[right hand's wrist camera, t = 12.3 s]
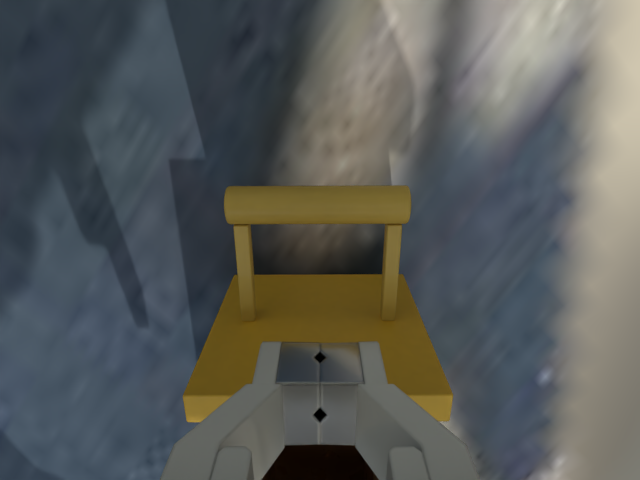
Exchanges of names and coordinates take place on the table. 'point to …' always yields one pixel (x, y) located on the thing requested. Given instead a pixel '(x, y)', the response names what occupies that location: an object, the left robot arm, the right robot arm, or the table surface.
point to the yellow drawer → (317, 315)
